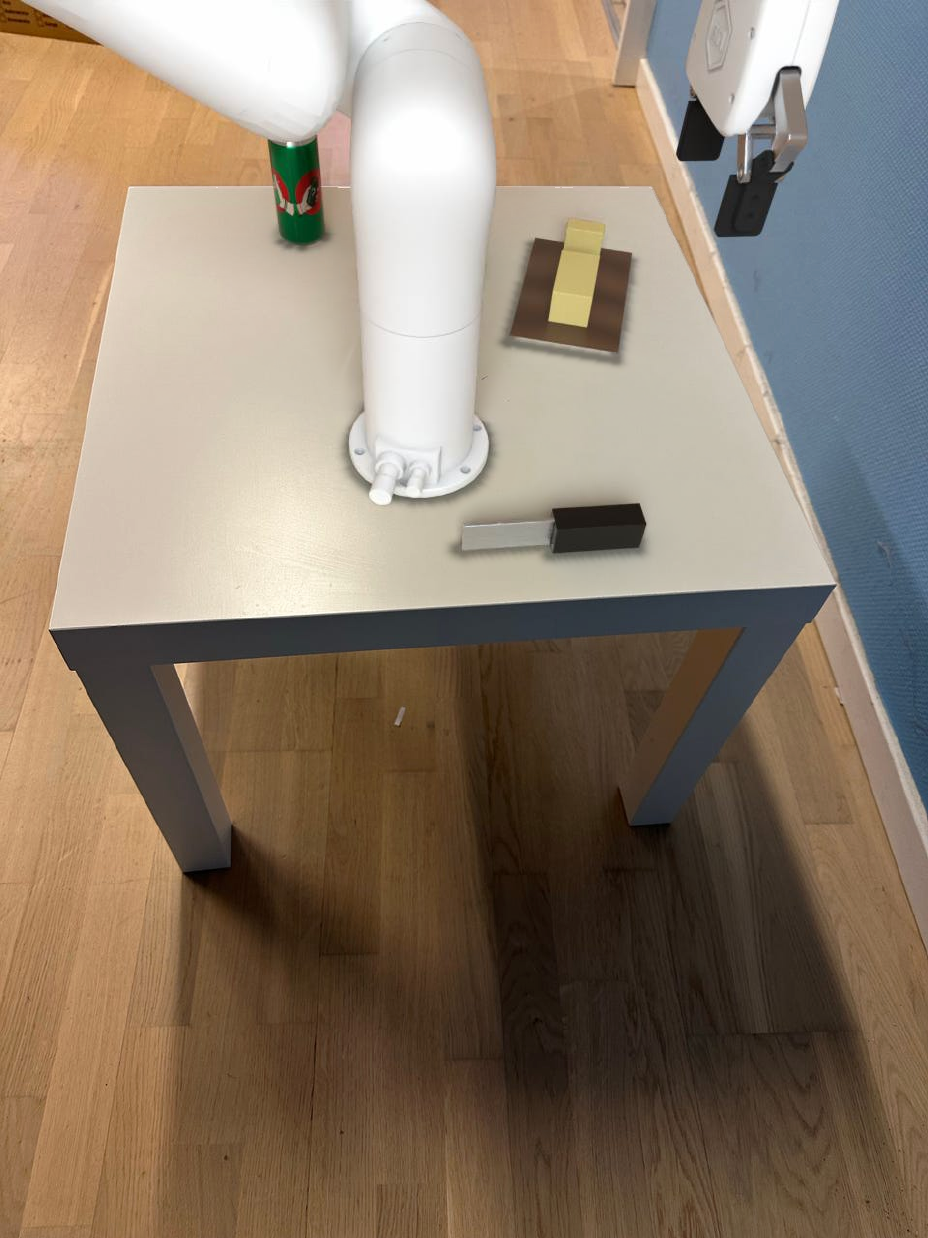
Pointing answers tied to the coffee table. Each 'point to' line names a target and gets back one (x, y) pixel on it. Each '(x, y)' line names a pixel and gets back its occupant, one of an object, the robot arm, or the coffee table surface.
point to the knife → (563, 530)
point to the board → (604, 305)
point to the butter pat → (584, 236)
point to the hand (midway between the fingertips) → (715, 194)
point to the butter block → (574, 288)
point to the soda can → (297, 190)
